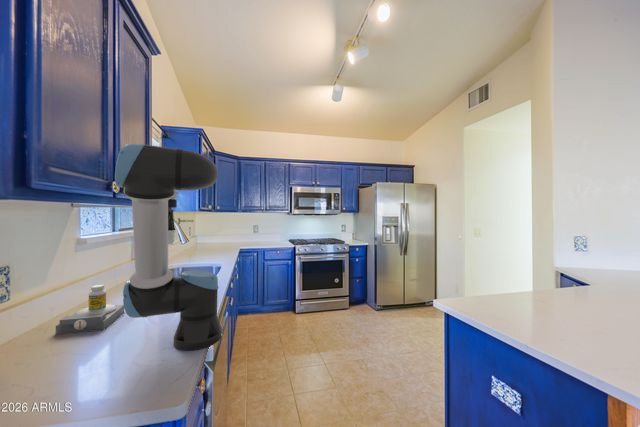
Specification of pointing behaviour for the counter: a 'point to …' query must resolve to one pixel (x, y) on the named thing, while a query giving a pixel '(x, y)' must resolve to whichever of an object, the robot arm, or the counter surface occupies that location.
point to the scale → (89, 319)
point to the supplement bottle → (97, 298)
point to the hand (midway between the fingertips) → (165, 246)
